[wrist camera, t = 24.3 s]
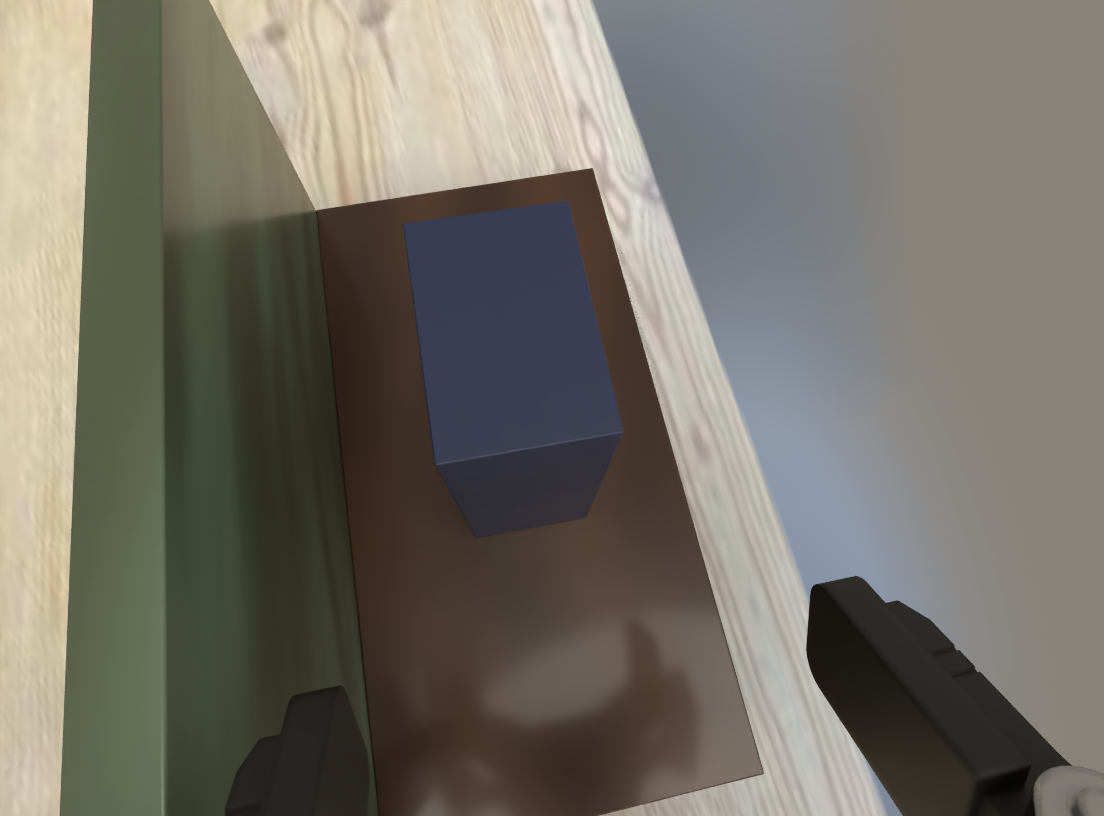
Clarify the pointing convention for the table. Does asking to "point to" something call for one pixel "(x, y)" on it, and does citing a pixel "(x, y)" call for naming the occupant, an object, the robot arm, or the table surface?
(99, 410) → the shelf
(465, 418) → the navy block
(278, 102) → the table surface
